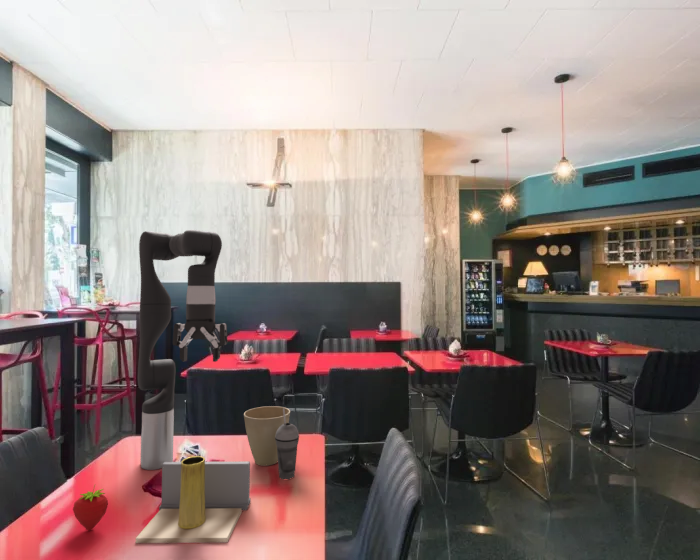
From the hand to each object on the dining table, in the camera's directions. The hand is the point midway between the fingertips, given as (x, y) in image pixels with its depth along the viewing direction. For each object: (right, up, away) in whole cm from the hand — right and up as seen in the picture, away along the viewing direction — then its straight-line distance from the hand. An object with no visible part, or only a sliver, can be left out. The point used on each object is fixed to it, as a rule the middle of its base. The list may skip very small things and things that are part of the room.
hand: (200, 361), depth 109 cm
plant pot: (+14, -37, +20) cm, 45 cm away
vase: (+4, -35, -16) cm, 38 cm away
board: (+4, -36, -16) cm, 39 cm away
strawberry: (-19, -36, -18) cm, 44 cm away
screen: (+4, -36, -7) cm, 37 cm away
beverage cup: (+22, -37, +10) cm, 44 cm away
